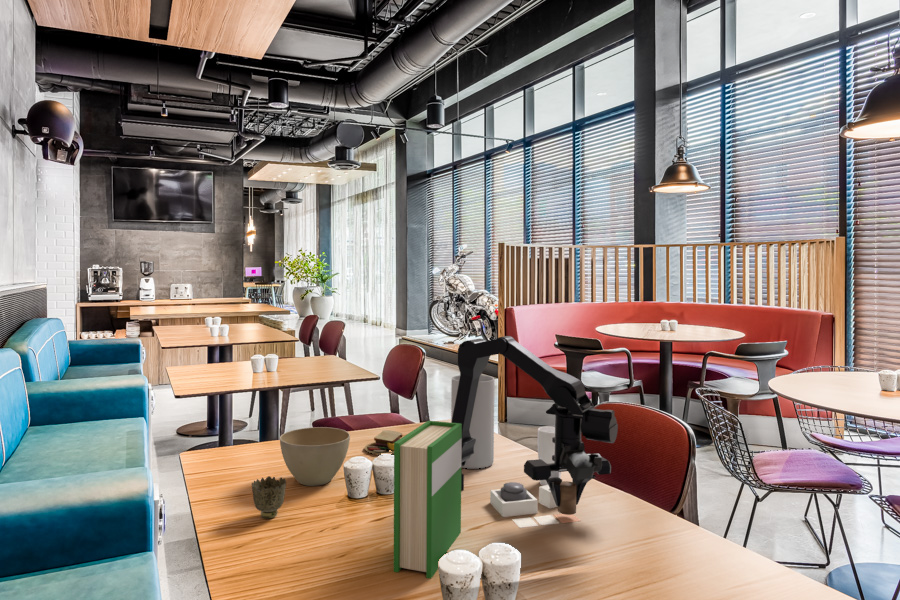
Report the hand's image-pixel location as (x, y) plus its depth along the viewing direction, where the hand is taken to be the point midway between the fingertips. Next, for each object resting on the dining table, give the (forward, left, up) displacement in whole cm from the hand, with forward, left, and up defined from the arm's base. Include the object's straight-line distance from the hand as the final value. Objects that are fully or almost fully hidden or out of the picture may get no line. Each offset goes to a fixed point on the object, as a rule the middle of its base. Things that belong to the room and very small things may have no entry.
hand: (566, 505), depth 128 cm
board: (-5, +4, -4) cm, 8 cm away
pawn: (0, 0, -1) cm, 1 cm away
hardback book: (-33, -7, -4) cm, 34 cm away
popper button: (-10, +8, -3) cm, 13 cm away
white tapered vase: (+6, +21, -4) cm, 23 cm away
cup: (-64, +19, -4) cm, 67 cm away
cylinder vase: (-8, +44, -4) cm, 45 cm away
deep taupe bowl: (-53, +40, -4) cm, 67 cm away
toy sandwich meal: (-31, +64, -4) cm, 71 cm away
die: (0, +8, -3) cm, 9 cm away
